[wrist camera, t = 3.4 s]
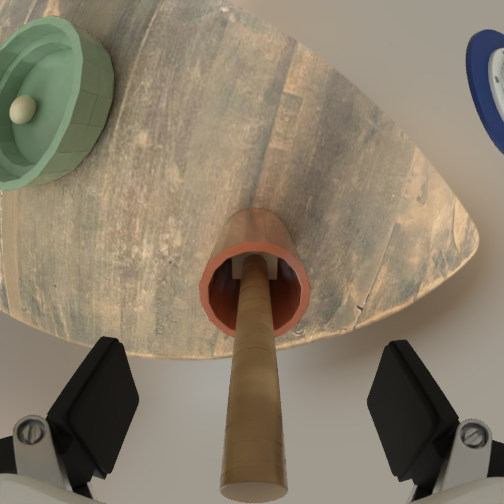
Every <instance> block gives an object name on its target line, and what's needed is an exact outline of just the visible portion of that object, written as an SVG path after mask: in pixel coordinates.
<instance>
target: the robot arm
mask: <svg viewBox="0 0 504 504" xmlns="http://www.w3.org/2000/svg"><path fill="white" fill-rule="evenodd" d="M488 77H489V84H490V89H491V92H492V96H493V99H494V102H495V105H496V107H497V110H498V112H499V114H500V116H501V118H502V120H503V122H504V48H500V49H497V50H494V51H493V52H492V53H491V55H490V58H489V62H488ZM138 403H139V395H138V392H137V389H136V386H135V383H134V380H133V377H132V374H131V370H130V367H129V363H128V360H127V356H126V353H125V349H124V346H123V344H122V343H120V342H119V340H118V339H117V338H111V337H104V336H103V337H101V338H100V339H99V340H98V342H97V343H96V344H95V346H94V347H93V348H92V350H91V351H90V352H89V354H88V355H87V357H86V358H85V359H84V361H83V362H82V363H81V365H80V366H79V368H78V369H77V371H76V372H75V373H74V375H73V376H72V378H71V379H70V381H69V382H68V383H67V385H66V386H65V388H64V389H63V391H62V392H61V394H60V395H59V397H58V398H57V400H56V401H55V403H54V404H53V406H52V407H51V409H50V410H49V412H48V413H47V415H48V416H47V417H46V419H44V418H42V417H41V416H38V415H28V416H25V417H23V418H21V419H20V420H19V421H18V422H17V423H16V424H15V426H14V428H13V436H9V437H6V438H2V439H0V504H105V503H102V502H99V501H98V500H97V497H96V495H95V493H94V490H93V488H92V486H91V483H90V481H91V478H92V476H95V477H98V478H101V479H105V478H106V476H107V473H108V474H110V473H111V472H112V470H113V468H114V465H115V462H116V460H117V457H118V454H119V452H120V449H121V446H122V444H123V441H124V439H125V436H126V434H127V431H128V428H129V426H130V423H131V421H132V419H133V416H134V414H135V411H136V409H137V406H138ZM367 406H368V409H369V411H370V414H371V416H372V419H373V422H374V424H375V427H376V430H377V432H378V435H379V438H380V441H381V443H382V446H383V448H384V452H385V454H386V457H387V460H388V463H389V466H390V468H391V471H392V474H393V475H394V476H397V477H398V480H399V482H402V481H405V480H409V479H412V480H413V482H414V486H413V488H412V491H411V493H410V496H409V497H408V500H407V502H406V504H504V444H503V443H500V442H497V441H494V440H492V433H491V430H490V428H489V427H488V426H487V425H486V424H485V423H484V422H482V421H480V420H477V419H468V420H465V421H463V422H462V423H460V422H459V420H458V419H459V417H458V415H457V414H456V412H455V410H454V409H453V407H452V406H451V404H450V403H449V401H448V400H447V398H446V396H445V395H444V393H443V392H442V390H441V389H440V387H439V386H438V384H437V383H436V381H435V380H434V378H433V377H432V375H431V374H430V372H429V371H428V369H427V368H426V367H425V365H424V364H423V362H422V361H421V359H420V358H419V357H418V355H417V354H416V352H415V351H414V350H413V348H412V347H411V345H410V344H409V342H408V341H407V340H397V341H391V342H390V343H389V345H387V346H386V347H385V348H384V351H383V354H382V357H381V360H380V363H379V367H378V370H377V373H376V376H375V378H374V381H373V384H372V387H371V390H370V393H369V395H368V398H367Z"/></svg>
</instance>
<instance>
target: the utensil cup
mask: <svg viewBox="0 0 504 504" xmlns="http://www.w3.org/2000/svg"><path fill="white" fill-rule="evenodd" d="M243 252H267V253H269V254H272V255H274V256H277V257H278V266H277V279H276V280H273V279H269V289H270V298H271V308H272V318H273V327H274V337H278V336H281V335H283V334H285V333H286V332H287V331H289V330H290V329H291V328H293V327H294V326H295V325H296V324H298V323H299V321H300V320H301V318H302V316H303V315H304V313H305V311H306V309H307V308H308V305H309V299H310V289H311V286H310V282H309V279H308V276H307V274H306V271H305V268H304V266H303V263H302V261H301V259H300V256H299V254H298V252H297V249H296V247H295V245H294V243H293V240H292V238H291V236H290V234H289V231H288V229H287V227H286V225H285V224H284V223H283V221H282V220H281V219H280V218H279V217H278V216H277V215H276V214H274V213H273V212H271V211H269V210H266V209H262V208H248V209H244V210H241V211H239V212H237V213H236V214H234V215H233V216H232V217H230V218H229V220H228V221H227V222H226V223H225V225H224V226H223V229H222V231H221V233H220V235H219V238H218V240H217V242H216V244H215V247H214V249H213V251H212V253H211V256H210V258H209V260H208V263H207V265H206V267H205V270H204V272H203V275H202V278H201V280H200V283H199V294H200V304H201V306H202V308H203V310H204V312H205V314H206V316H207V317H208V319H209V321H210V322H211V323H212V324H213V325H215V326H216V327H217V328H218V329H219V330H221V331H222V332H223V333H224V334H226V335H229V336H232V337H235V330H236V321H237V311H238V302H239V293H240V284H241V279H232V257H233V256H235V255H238V254H241V253H243Z"/></svg>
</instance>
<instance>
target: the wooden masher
mask: <svg viewBox="0 0 504 504" xmlns="http://www.w3.org/2000/svg"><path fill="white" fill-rule="evenodd" d="M277 266H278V257H277V256H274V255H272V254H269V253H267V252H243V253H241V254H238V255H235V256H233V257H232V279H241V284H240V293H239V302H238V311H237V321H236V330H235V339H234V349H233V358H232V368H231V378H230V387H229V397H228V407H227V417H226V426H225V437H224V447H223V457H222V468H221V479H220V493H221V494H222V495H223V496H224V497H226V498H228V499H231V500H234V501H239V502H245V503H262V502H269V501H274V500H277V499H279V498H282V497H283V496H285V495H286V493H287V491H288V484H287V472H286V459H285V447H284V435H283V423H282V412H281V401H280V390H279V379H278V368H277V358H276V348H275V337H274V327H273V318H272V308H271V298H270V289H269V279H273V280H276V279H277Z"/></svg>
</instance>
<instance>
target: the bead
mask: <svg viewBox="0 0 504 504" xmlns="http://www.w3.org/2000/svg"><path fill="white" fill-rule="evenodd" d="M35 110H36V103H35V100H34V99H33V98H32V97H31V96H29V95H22V96H20V97H18V98H17V99H15V100H14V102H13V103H12V105H11V107H10V118H11V120H12V121H13V122H14V123H16V124H24V123H27V122H28V121H29V120H30V119H31V118H32V117H33V115H34V113H35Z"/></svg>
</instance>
